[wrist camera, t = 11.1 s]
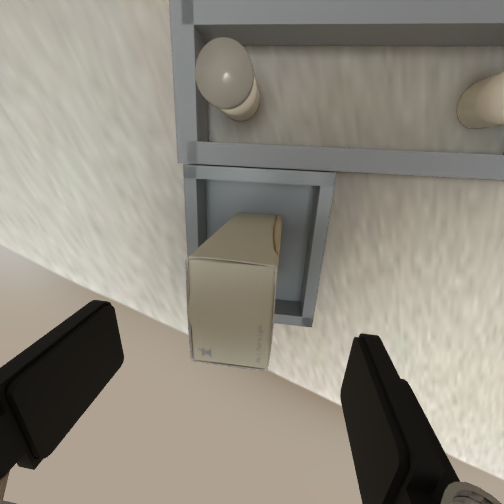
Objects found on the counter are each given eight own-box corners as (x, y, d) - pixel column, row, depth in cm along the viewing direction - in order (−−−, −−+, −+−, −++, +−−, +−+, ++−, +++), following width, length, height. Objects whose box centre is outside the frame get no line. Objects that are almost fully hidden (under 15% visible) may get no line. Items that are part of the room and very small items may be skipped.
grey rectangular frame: (583, 16, 16) (647, -16, 13) (516, 179, 19) (555, 182, 17) (186, 18, 18) (168, -7, 16) (191, 162, 22) (178, 163, 19)
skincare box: (277, 275, 24) (270, 376, 13) (232, 271, 25) (188, 365, 13) (282, 212, 22) (282, 266, 11) (234, 209, 22) (182, 256, 11)
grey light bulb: (262, 73, 19) (254, 37, 13) (260, 122, 20) (250, 107, 15) (220, 73, 19) (194, 37, 14) (219, 121, 21) (195, 106, 15)
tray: (329, 171, 21) (336, 172, 18) (308, 308, 26) (311, 327, 23) (196, 164, 22) (183, 164, 19) (200, 296, 27) (190, 313, 24)
